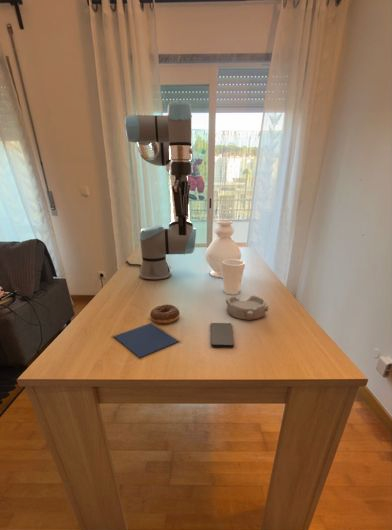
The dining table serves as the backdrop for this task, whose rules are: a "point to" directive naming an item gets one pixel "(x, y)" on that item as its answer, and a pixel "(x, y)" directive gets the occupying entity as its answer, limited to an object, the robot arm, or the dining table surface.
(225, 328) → the smartphone
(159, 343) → the cloth
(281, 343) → the dining table surface
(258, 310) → the dish
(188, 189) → the robot arm
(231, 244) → the decorative vase
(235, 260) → the foam cup
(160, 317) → the donut
